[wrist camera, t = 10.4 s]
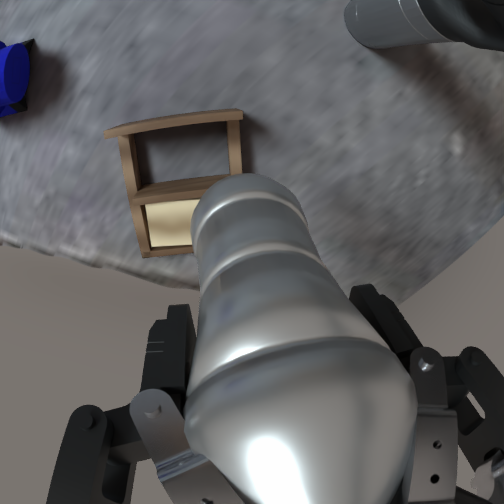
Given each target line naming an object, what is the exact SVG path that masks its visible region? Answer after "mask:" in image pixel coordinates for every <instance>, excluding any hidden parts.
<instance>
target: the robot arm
mask: <svg viewBox="0 0 504 504" xmlns="http://www.w3.org/2000/svg"><path fill="white" fill-rule="evenodd" d="M344 16H345V22H346V26H347V28H348V30H349V32H350V33H351V34H352V36H353V37H354V38H355V39H356V40H357V41H358V42H360V43H361V44H363V45H365V46H367V47H369V48H373V49H382V48H383V49H384V48H391V47H398V46H406V45H416V44H428V43H443V42H464V43H466V44H468V45H470V46H473V47H476V48H481V49H489V50H496V51H503V52H504V0H351V2H350V3H349V4H348V5H347V7H346V9H345V14H344ZM349 300H350V301H351V302H352V303H353V305H354V306H355V307H356V308H357V309H358V310H359V312H360V313H361V314H362V315H363V316H364V317H365V319H366V320H367V321H368V322H369V323H370V325H371V326H372V327H373V328H374V329H375V330H376V332H377V333H378V334H379V335H380V336H381V338H382V339H383V340H384V341H385V342H386V344H387V345H388V346H389V348H390V350H391V351H392V352H393V353H395V354H396V356H397V357H398V359H399V360H400V362H401V363H402V365H403V366H404V368H405V369H406V371H407V372H408V374H409V375H410V377H411V378H412V380H413V382H414V384H415V390H416V396H417V402H418V407H417V417H416V423H415V429H414V435H413V441H412V446H411V451H410V455H409V458H408V462H407V465H406V468H405V471H404V476H403V478H402V481H401V483H400V485H399V487H398V490H397V492H396V494H395V495H394V497H393V499H392V501H391V502H390V504H504V377H503V375H502V374H501V373H500V372H499V371H498V369H497V368H496V367H495V365H494V364H493V363H492V362H491V360H490V359H489V358H488V357H487V356H486V354H484V352H483V351H482V350H480V349H479V348H476V347H472V346H470V347H467V348H465V349H463V351H462V352H461V354H460V355H459V356H456V357H455V356H453V357H442V356H441V355H440V354H439V353H438V352H437V351H436V350H434V349H432V348H430V347H423V345H422V344H421V342H420V341H419V339H418V338H417V336H416V335H415V333H414V332H413V330H412V329H411V327H410V326H409V324H408V323H407V321H406V320H404V317H403V315H402V314H401V313H400V312H399V309H398V308H397V307H396V305H395V304H394V302H393V301H392V300H390V299H389V298H388V297H386V296H385V295H383V294H382V295H379V293H378V292H377V291H376V289H375V288H374V286H373V285H372V284H365V285H358V286H353V287H352V289H351V292H350V297H349ZM195 342H196V333H195V328H194V324H193V320H192V315H191V311H190V306H189V304H179V305H169V307H168V313H167V319H164V320H156V322H155V323H154V325H153V326H152V327H151V329H150V330H149V336H148V344H147V348H146V355H145V361H144V368H143V375H142V383H141V389H140V392H139V393H138V394H137V395H136V396H135V397H134V398H133V400H132V401H131V403H129V404H128V405H126V406H123V407H120V408H116V409H112V410H109V411H105V412H103V411H102V410H101V409H100V408H99V407H97V406H94V405H83V406H81V407H79V408H77V409H76V410H75V411H74V412H73V413H72V415H71V416H70V419H69V422H68V425H67V428H66V431H65V434H64V437H63V440H62V444H61V447H60V450H59V454H58V457H57V461H56V465H55V469H54V473H53V476H52V480H51V484H50V489H49V493H48V497H47V502H46V504H130V502H131V495H132V489H133V482H134V475H135V470H136V464H137V462H138V461H142V460H146V459H150V458H151V459H152V461H153V462H154V464H155V466H156V469H157V475H158V478H159V480H160V482H161V483H162V485H163V487H164V489H165V490H166V492H167V494H168V495H169V497H170V499H171V500H172V502H173V503H174V504H245V503H244V502H243V501H242V500H241V499H240V497H239V496H238V495H237V494H236V492H235V491H234V490H233V488H232V487H231V486H230V485H229V483H228V482H227V481H226V479H225V478H224V477H223V475H222V474H221V473H220V471H219V470H218V469H217V467H216V466H215V465H214V463H213V462H212V461H211V460H209V459H208V458H207V457H206V456H204V455H203V454H199V453H198V454H194V453H193V452H192V450H191V448H190V445H189V443H188V440H187V438H186V435H185V432H184V426H185V421H184V419H183V408H184V405H185V397H186V391H187V386H188V380H189V375H190V369H191V364H192V358H193V353H194V348H195ZM469 392H471V393H472V395H473V396H474V397H475V399H476V400H477V402H478V403H479V405H480V406H481V407H482V409H483V410H484V412H485V419H483V418H482V417H481V416H480V415H479V413H478V412H477V410H476V409H475V408H474V406H473V405H472V403H471V402H470V400H469V399H468V398H467V394H468V393H469ZM458 445H459V447H460V448H461V450H462V452H463V453H464V455H465V456H466V458H467V460H468V462H469V463H470V465H471V467H472V468H473V470H474V472H475V477H474V478H473V479H472V480H471V487H472V488H474V489H476V488H477V495H475V494H473V493H470V492H468V491H466V490H464V489H462V488H460V487H458V486H456V478H457V460H458Z"/></svg>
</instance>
